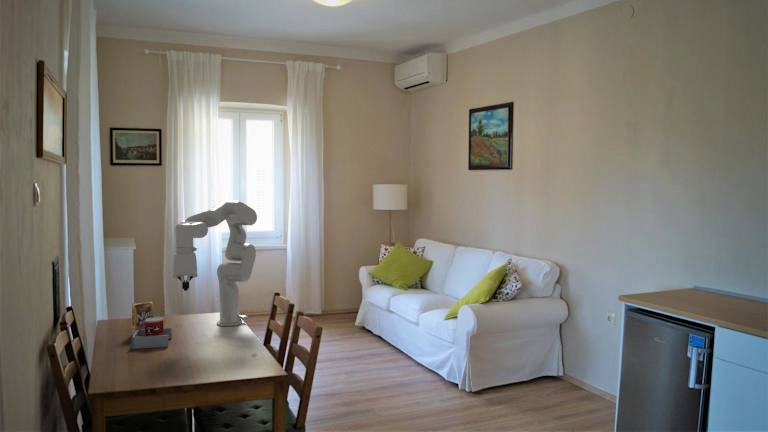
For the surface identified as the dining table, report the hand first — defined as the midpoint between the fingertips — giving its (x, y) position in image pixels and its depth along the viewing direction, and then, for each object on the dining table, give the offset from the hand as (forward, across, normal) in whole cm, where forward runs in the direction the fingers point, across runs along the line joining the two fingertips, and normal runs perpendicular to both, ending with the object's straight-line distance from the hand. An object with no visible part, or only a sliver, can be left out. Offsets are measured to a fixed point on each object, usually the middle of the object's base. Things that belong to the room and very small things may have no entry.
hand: (185, 290), depth 270 cm
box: (+23, +15, +2) cm, 27 cm away
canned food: (+23, +14, +2) cm, 27 cm away
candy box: (+23, +21, -16) cm, 35 cm away
